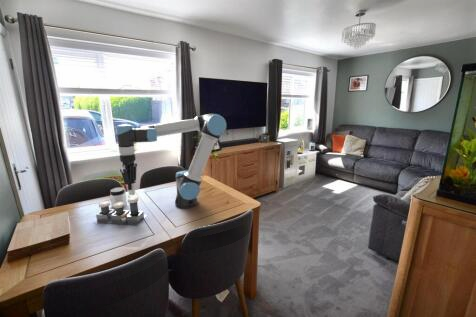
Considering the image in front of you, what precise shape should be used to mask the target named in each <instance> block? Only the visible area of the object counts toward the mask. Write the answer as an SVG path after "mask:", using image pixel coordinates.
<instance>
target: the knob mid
mask: <svg viewBox="0 0 476 317" xmlns="http://www.w3.org/2000/svg"><path fill="white" fill-rule="evenodd" d="M113 206H114V207H113V209H114V210H115V212H116V215H121V214H122V213H124V210H125V209H124V207H126V206H125V205H124V203H123V202H118V203H115V204H114V205H113Z"/></svg>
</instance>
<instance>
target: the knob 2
mask: <svg viewBox="0 0 476 317" xmlns="http://www.w3.org/2000/svg"><path fill="white" fill-rule="evenodd" d="M138 202H139V197H138V196H132V197H129V198H127V203H129V212H131V215H137V214H138V211H139V205H138Z"/></svg>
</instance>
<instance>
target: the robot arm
mask: <svg viewBox="0 0 476 317" xmlns="http://www.w3.org/2000/svg"><path fill="white" fill-rule="evenodd" d="M226 129H227V121H226V119H225V118H224V117H223V116H221V114H218V113H212V112H211V113H207V114H202V115H199V116H195V117H194V118H190V119H188V118H187V119H182V120H175V121H169V122H161V123H156V124H148V125H142V126H140V128H133V125H132V124H118V125H117V126H116V136H117V144H118V150H119V151H118V152H119V160H120V162H121V163H122V168H120V169H119V172H120V173H121V176H122V181H123V182H124V185H127V189H128V195H129V196H134V195H136V193H135V192H136V191H135V184H137V183H136V181H137V166H138V163H135V161H136V158H137V157H136V151H135V149H136V148H135V144H137V143H154V142H157V141H158V137H164V136H170V135H175V134H181V133H189V132H194V131H198V132H200V134H201V137H200V140H199V142H198V146H197V147H196V149H195V153H194V155H193V157H192V160H191V163H190V165H189V168H188V170H180V171H177V172H176V173H175V181H176V185H175V186H176V196H175V199H174V200H175V201H174V205H175V207H177V208H178V209H190V208H192V207H195V206H197V204H198V202H199V201H198V198H197V197H198V196H199V194H200V191H201V190H200V186H201V184H202V182H203V179H202V175H203V173H204V169H205V168H206V165H207V163H208V160H209V159H210V156H211V153H212V151H213V148H214V146H215V143H216V141H217V142H218V141H219V140H220V138H221V135H223V134H224V133H225V132H226Z"/></svg>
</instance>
